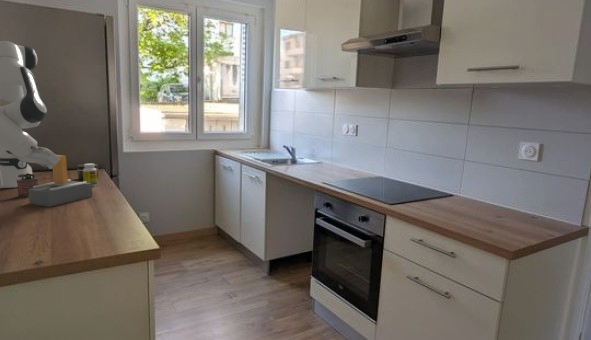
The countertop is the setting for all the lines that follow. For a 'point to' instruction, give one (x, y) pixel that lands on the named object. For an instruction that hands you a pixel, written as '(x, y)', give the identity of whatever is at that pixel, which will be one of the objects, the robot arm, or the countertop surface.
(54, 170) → the lever
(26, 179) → the lighter
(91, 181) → the pill bottle
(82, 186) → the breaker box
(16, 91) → the robot arm
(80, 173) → the jar
